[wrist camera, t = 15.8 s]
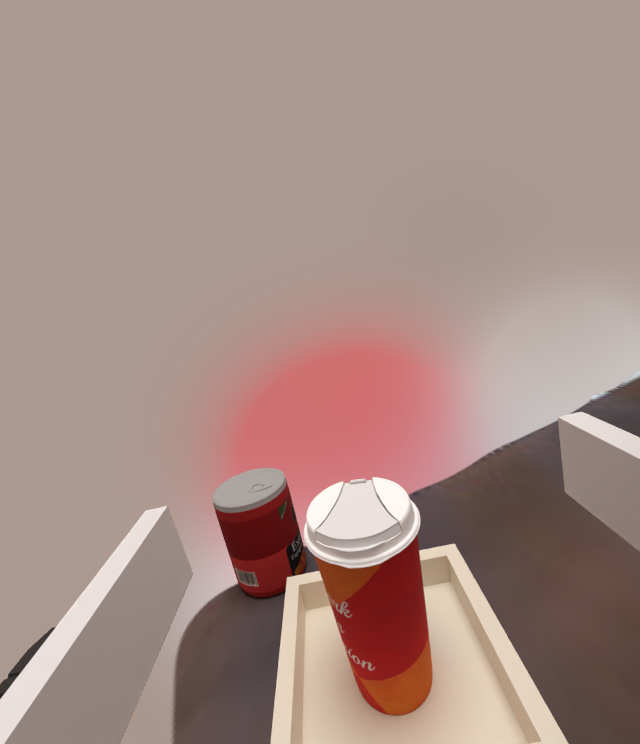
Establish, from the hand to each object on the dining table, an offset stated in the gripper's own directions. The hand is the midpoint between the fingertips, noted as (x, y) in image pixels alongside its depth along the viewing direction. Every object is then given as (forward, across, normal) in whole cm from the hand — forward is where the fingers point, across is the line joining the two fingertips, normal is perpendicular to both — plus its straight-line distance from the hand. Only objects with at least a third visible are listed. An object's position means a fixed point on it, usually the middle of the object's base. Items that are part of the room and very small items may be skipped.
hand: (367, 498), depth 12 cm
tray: (+10, -1, -22) cm, 24 cm away
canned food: (+24, -12, -22) cm, 35 cm away
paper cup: (+10, -1, -21) cm, 23 cm away
